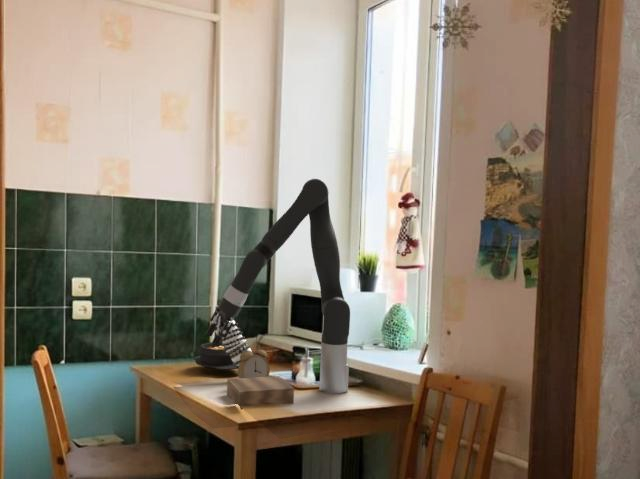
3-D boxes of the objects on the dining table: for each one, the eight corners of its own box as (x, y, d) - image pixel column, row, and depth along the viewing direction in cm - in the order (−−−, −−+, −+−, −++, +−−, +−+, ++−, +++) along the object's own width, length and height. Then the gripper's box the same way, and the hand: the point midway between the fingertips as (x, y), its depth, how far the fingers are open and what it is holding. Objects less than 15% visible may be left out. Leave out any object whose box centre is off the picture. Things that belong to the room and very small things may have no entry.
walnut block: (278, 393, 234) (278, 376, 234) (293, 406, 219) (294, 388, 219) (226, 396, 228) (227, 378, 227) (239, 410, 213) (239, 391, 212)
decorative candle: (256, 369, 255) (223, 311, 255) (267, 365, 247) (233, 306, 248) (237, 382, 249) (203, 323, 250) (248, 378, 242) (213, 317, 242)
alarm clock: (242, 390, 235) (243, 347, 234) (235, 386, 239) (236, 344, 238) (270, 385, 242) (271, 344, 241) (262, 382, 246) (264, 341, 245)
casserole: (257, 370, 264) (257, 348, 263) (215, 376, 252) (216, 354, 251) (222, 357, 283) (223, 337, 282) (182, 363, 271) (183, 342, 270)
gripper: (248, 311, 234) (225, 352, 235) (237, 297, 247) (215, 335, 248) (229, 303, 231) (206, 344, 232) (219, 289, 243) (197, 328, 244)
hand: (211, 340), depth 240 cm, fingers open, 8 cm apart
